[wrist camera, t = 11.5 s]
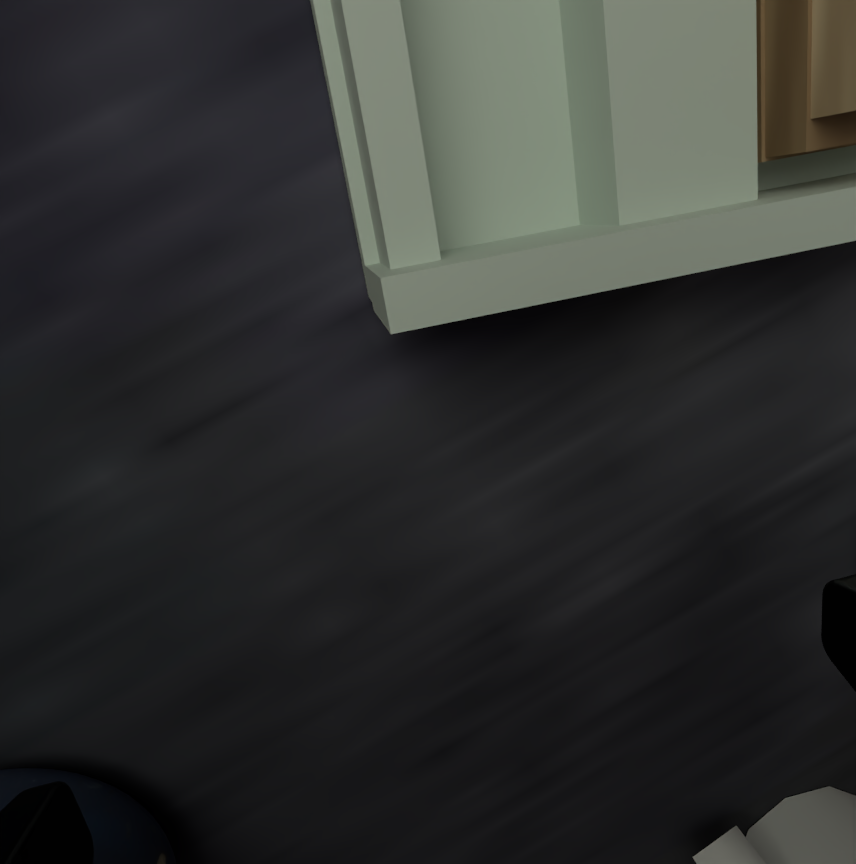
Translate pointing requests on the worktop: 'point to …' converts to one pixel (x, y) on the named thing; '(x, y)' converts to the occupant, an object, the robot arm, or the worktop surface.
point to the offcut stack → (805, 76)
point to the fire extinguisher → (793, 833)
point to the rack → (559, 150)
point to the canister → (100, 816)
